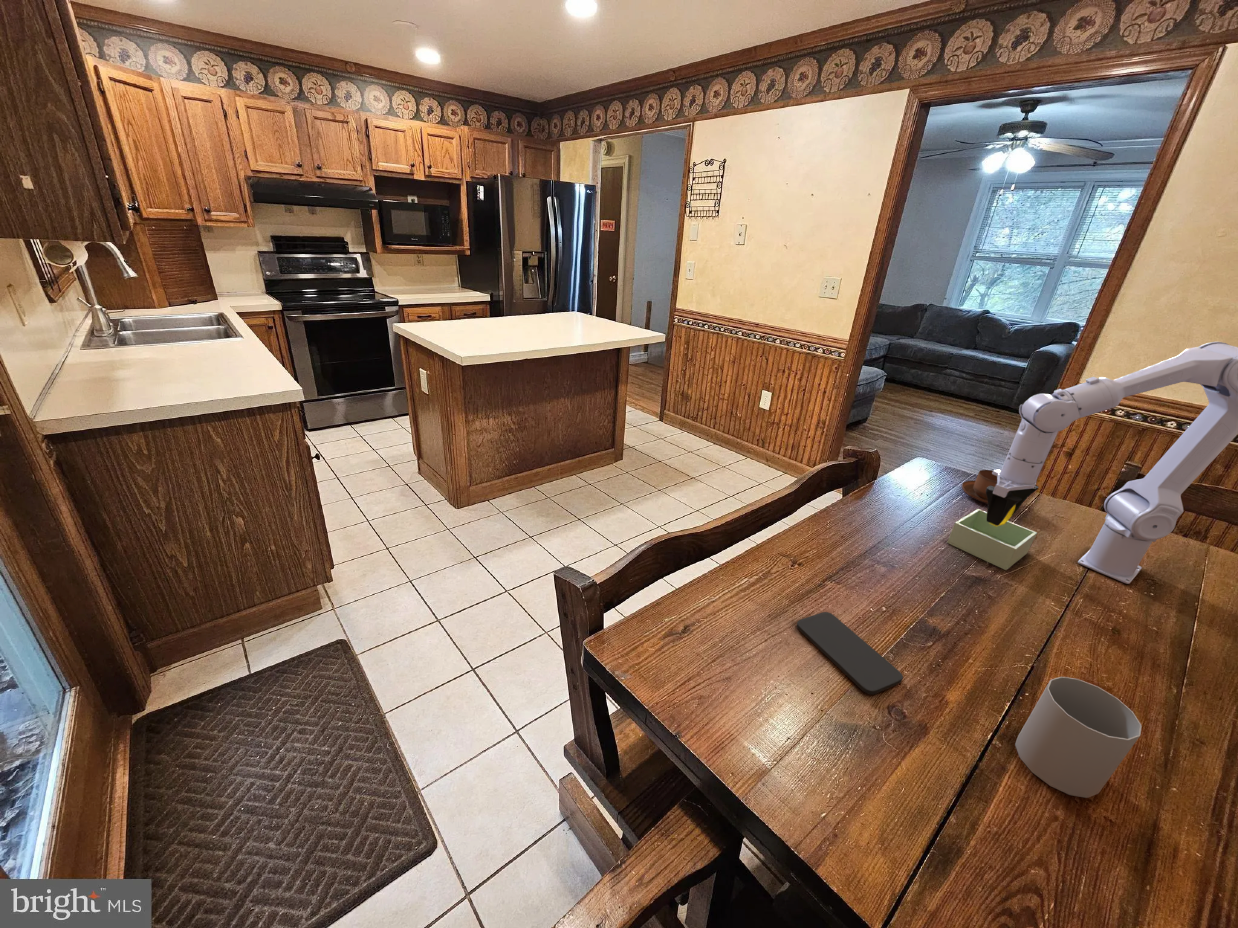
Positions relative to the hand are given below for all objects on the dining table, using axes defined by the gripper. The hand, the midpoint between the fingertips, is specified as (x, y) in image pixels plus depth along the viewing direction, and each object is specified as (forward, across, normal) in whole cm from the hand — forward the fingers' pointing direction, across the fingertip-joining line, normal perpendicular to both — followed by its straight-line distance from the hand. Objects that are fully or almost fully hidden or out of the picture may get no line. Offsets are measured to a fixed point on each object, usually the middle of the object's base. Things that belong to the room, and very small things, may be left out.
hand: (999, 518), depth 103 cm
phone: (+7, +52, 0) cm, 52 cm away
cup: (+7, +46, +26) cm, 53 cm away
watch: (+2, 0, 0) cm, 2 cm away
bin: (+7, 0, 0) cm, 7 cm away
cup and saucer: (+7, -25, -10) cm, 28 cm away
